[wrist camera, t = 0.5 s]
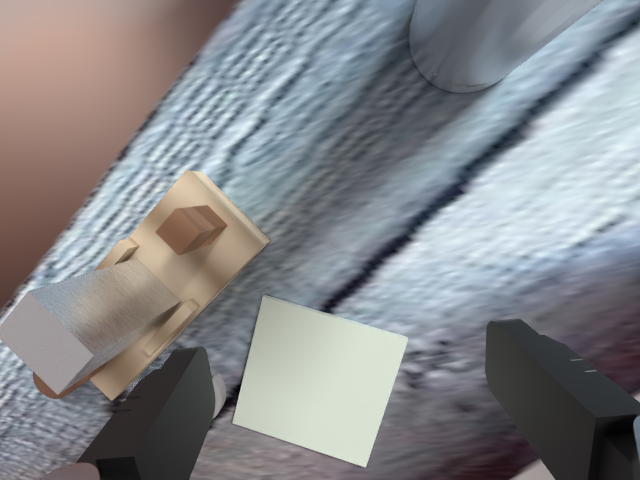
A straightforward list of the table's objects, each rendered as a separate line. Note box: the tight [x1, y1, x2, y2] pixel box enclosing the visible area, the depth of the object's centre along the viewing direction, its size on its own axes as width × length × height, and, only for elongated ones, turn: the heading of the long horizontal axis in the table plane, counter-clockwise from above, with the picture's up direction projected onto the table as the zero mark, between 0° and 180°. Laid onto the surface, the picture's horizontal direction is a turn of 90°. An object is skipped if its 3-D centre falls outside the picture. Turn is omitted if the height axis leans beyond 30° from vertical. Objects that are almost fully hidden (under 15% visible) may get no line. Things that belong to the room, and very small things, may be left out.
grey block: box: [0, 258, 181, 395], centre depth 26 cm, size 4×6×10 cm
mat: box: [232, 295, 408, 467], centre depth 33 cm, size 14×14×1 cm
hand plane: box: [33, 171, 271, 401], centre depth 29 cm, size 22×9×8 cm, turn 135°
